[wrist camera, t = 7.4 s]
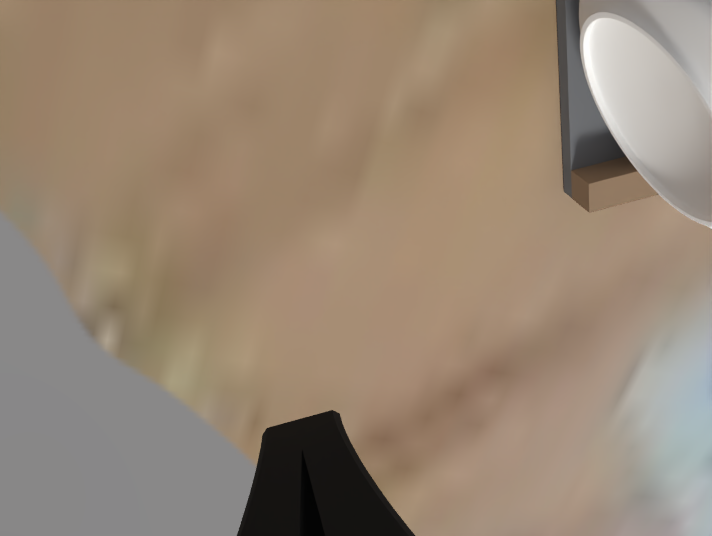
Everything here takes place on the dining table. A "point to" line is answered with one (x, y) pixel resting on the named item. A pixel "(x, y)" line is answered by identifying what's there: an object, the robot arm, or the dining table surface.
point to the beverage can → (656, 91)
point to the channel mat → (589, 131)
